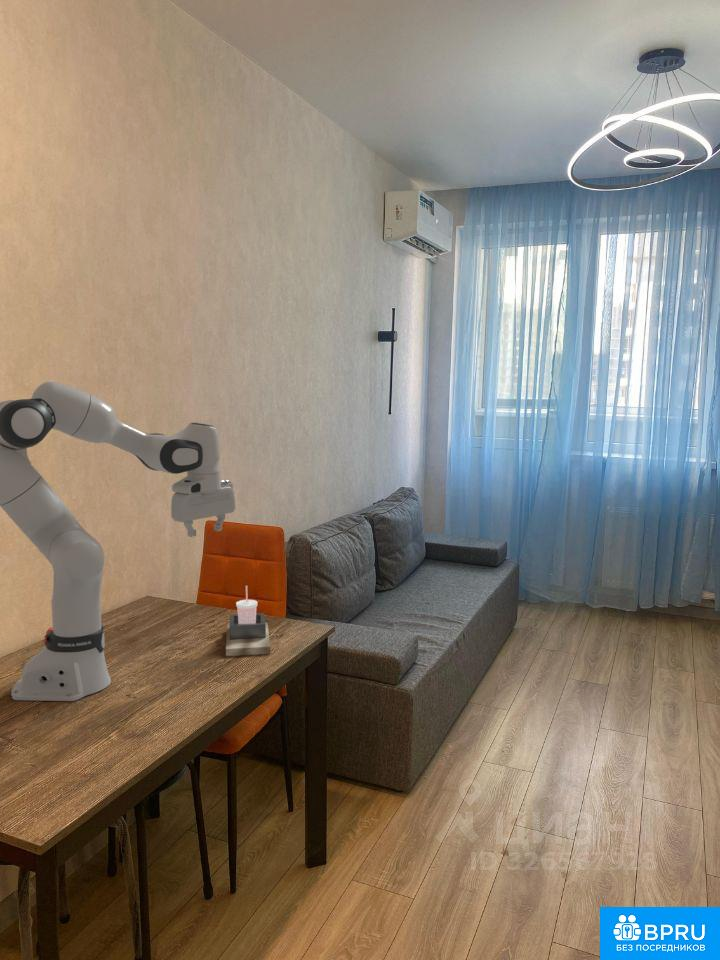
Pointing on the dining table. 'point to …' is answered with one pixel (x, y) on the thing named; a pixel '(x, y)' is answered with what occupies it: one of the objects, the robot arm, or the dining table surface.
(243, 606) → the beverage cup
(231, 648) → the socket board
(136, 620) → the dining table surface
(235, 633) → the cup collar
